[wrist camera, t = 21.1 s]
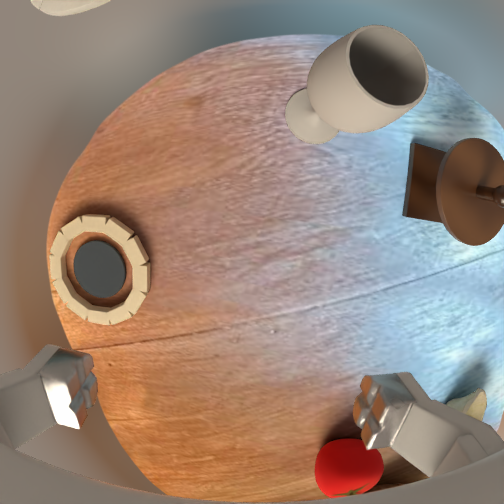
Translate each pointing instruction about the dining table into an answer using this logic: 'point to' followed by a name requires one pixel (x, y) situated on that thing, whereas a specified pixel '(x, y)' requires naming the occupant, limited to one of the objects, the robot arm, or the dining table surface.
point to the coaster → (99, 269)
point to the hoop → (133, 253)
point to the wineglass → (358, 85)
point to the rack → (458, 189)
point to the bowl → (471, 404)
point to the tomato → (347, 468)
